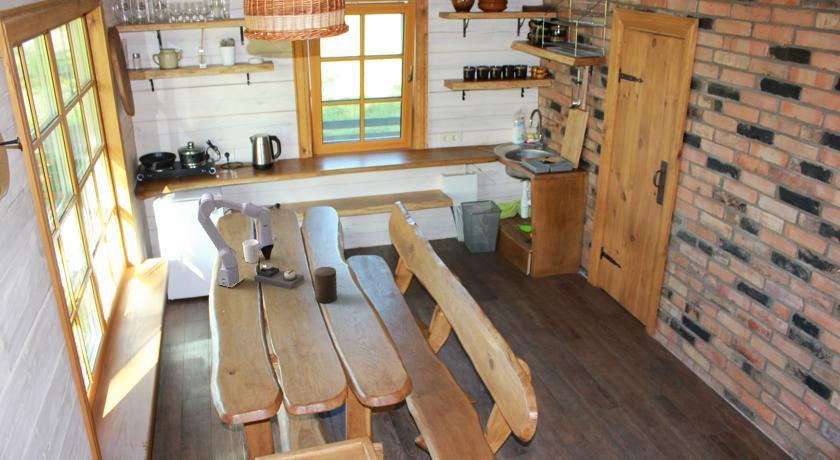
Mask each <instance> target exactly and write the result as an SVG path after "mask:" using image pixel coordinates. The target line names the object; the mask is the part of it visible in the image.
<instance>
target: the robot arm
mask: <svg viewBox="0 0 840 460" xmlns="http://www.w3.org/2000/svg"><path fill="white" fill-rule="evenodd" d="M197 207H198V208H197V220H198V222H199V224H200V225H201V226H202V228H203V230H204V231H205V233H206V235H207V236H208V237H209V239H210V241H211V243H212V244H213V245H214V247H215V248H216V250H217V251H218V253H219V257H220V258H221V260H222V263H221V268H220V269H219V271H218V272H217V278H218V280H217V281H218V283H219V285H223V286H228V287H230V286H232V285H233V284H235V283H238V282H239V278H240V272H239V263H238V260H237V252H236V250H235V249H234V248H232V247H231V246H230V245H229V244H228V243H227V242H226V240H225V239H224V237H223V236H222V234H221V233H220V231H219V229H218V228H217V226H216V224H214V222H213V220H212V219H211V214H212V213H213V212H214V210H217V211H218V210H219V209H222V208H225V209H231V210H235V211H239V212H240V213H241V214H242V215H243V216H247V217H250V218H253V219H258V224H257V225H258V235H259V237H258V238H259V240H258V241H259V243H258V244H257V245H256V246H255V250H257V251H259V252H260V251H261V253H262V255H263V257H264V260H266V261H270V260H271V256H272V252H273V251H272V250H273V249H274V247H275V241H278V236H277V235H273V232H272V213H271V211H270V208H269V207H268V206H267V205H257V204H254V203H252V202H251V201H248V202H247V201H246V202H243V203H241V202H238V201H235V200H232V199H230V198H227V197H223V196H221V195H218V194H216V193H215V194H214V193H213V194H212V193H210V192H205V193H203V194H202V195H201V196H200V198H199V201H198V206H197ZM219 285H218V286H219ZM223 286H222V287H223ZM228 287H227V288H228Z"/></svg>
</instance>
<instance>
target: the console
mask: <svg viewBox="0 0 840 460" xmlns="http://www.w3.org/2000/svg"><path fill="white" fill-rule="evenodd" d="M256 272H257V273H256V275H255V276H254V282H256V283H261V284H265V285H269V286H274V287H278V288H282V289H287V290H292V289H294V288H295V287H296V286H298V285H300V284H301V283H302V282H303V281H304V280H305V275H304V274H298V273H295V278H293V279H285V278H284V273H285V272H286V271H285V270H281V269H280V268H279V267H275V266H273V269H272V270H269V271H265V270H263V267H262V268H260V269H258V270H257V271H256Z"/></svg>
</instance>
